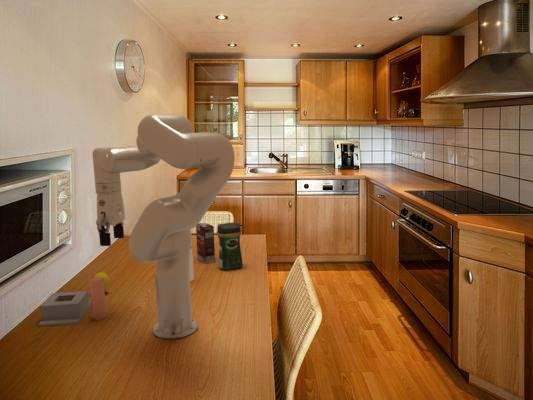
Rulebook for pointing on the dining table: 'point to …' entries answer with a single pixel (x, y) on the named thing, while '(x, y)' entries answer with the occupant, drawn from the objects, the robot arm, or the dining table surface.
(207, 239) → the supplement box
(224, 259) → the coffee jar
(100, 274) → the lemon
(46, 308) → the socket
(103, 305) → the peg
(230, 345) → the dining table surface
